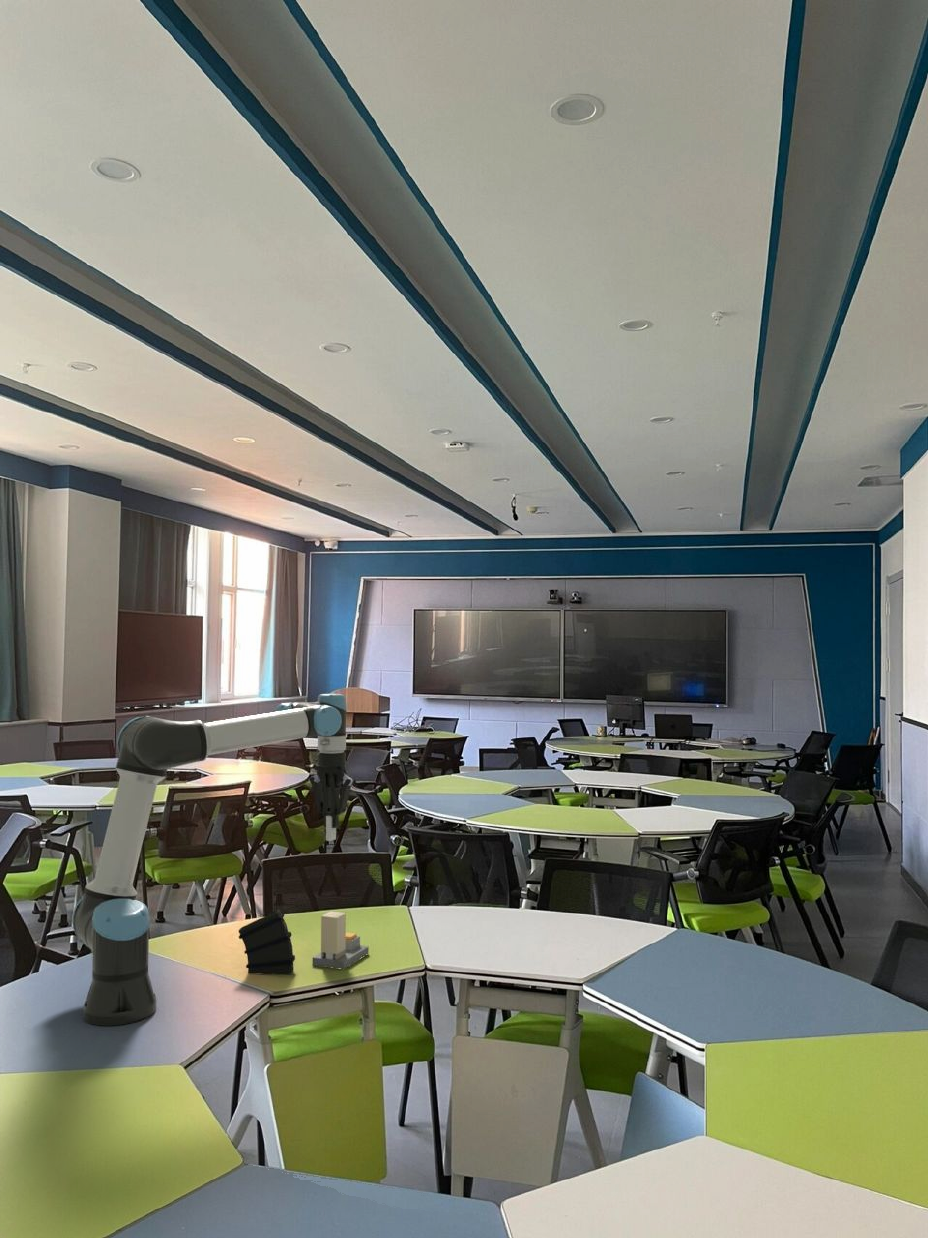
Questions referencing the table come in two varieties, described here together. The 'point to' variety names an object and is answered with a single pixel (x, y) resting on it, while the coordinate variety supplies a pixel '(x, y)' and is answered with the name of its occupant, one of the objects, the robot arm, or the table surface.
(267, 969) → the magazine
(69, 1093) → the table surface
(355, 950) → the rail cradle
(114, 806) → the robot arm
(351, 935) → the button
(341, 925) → the block
